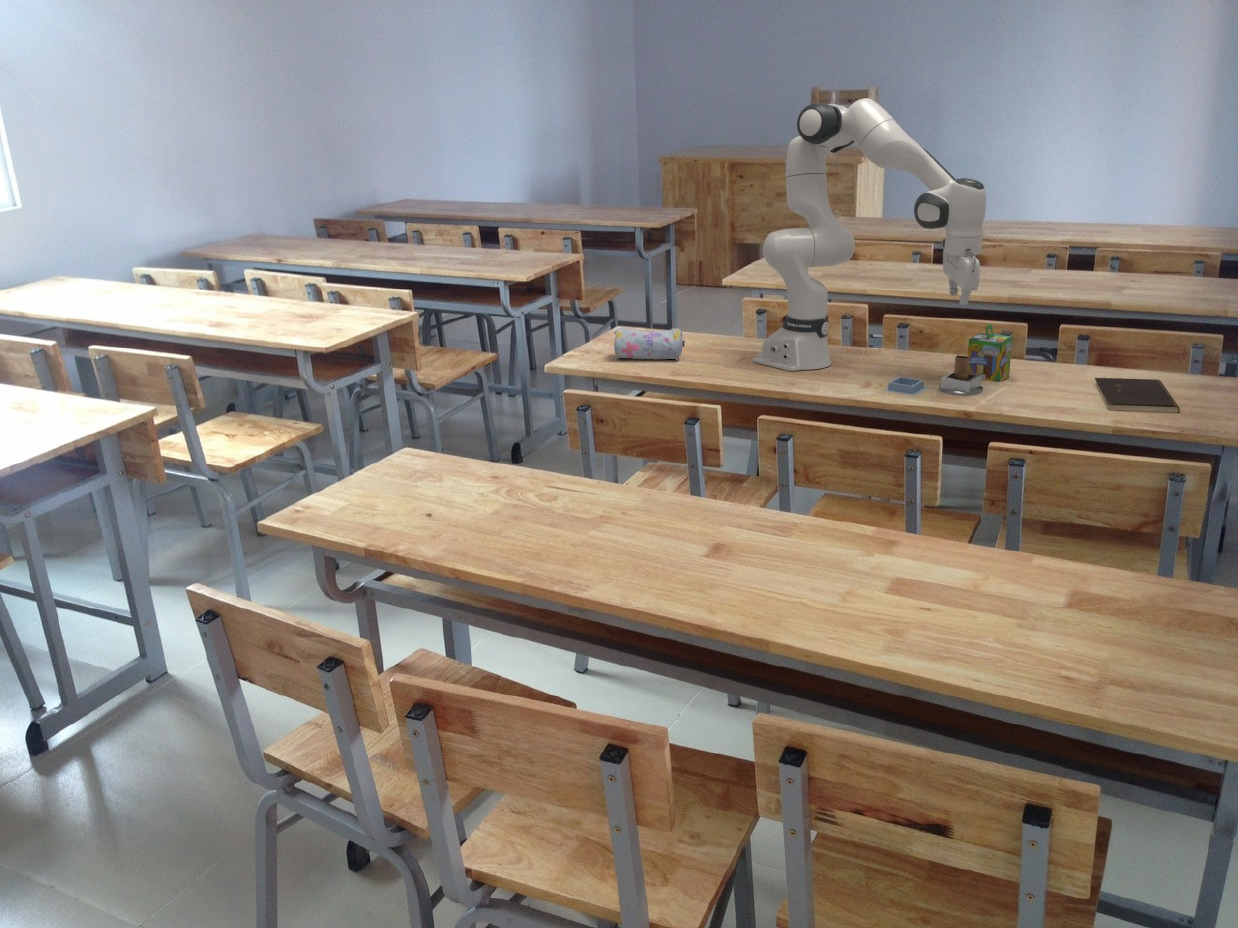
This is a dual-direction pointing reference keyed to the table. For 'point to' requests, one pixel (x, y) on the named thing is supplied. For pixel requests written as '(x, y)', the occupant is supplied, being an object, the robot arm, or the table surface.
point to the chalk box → (990, 355)
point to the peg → (961, 367)
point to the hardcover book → (1136, 395)
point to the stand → (906, 386)
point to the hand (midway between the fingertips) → (958, 299)
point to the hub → (961, 385)
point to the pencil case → (648, 344)
